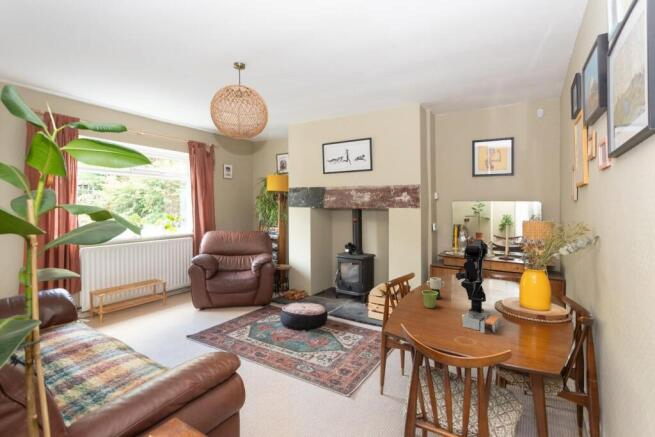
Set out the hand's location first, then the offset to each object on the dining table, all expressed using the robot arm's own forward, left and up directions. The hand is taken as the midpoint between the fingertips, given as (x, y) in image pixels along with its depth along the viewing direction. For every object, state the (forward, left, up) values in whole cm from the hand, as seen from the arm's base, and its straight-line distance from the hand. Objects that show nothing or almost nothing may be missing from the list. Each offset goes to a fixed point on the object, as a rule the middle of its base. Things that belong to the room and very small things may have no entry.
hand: (472, 296), depth 179 cm
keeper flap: (+10, +12, -7) cm, 17 cm away
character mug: (-22, -30, -12) cm, 39 cm away
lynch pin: (+10, +5, -12) cm, 16 cm away
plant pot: (-4, -26, -12) cm, 29 cm away
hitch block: (+10, +7, -12) cm, 17 cm away
